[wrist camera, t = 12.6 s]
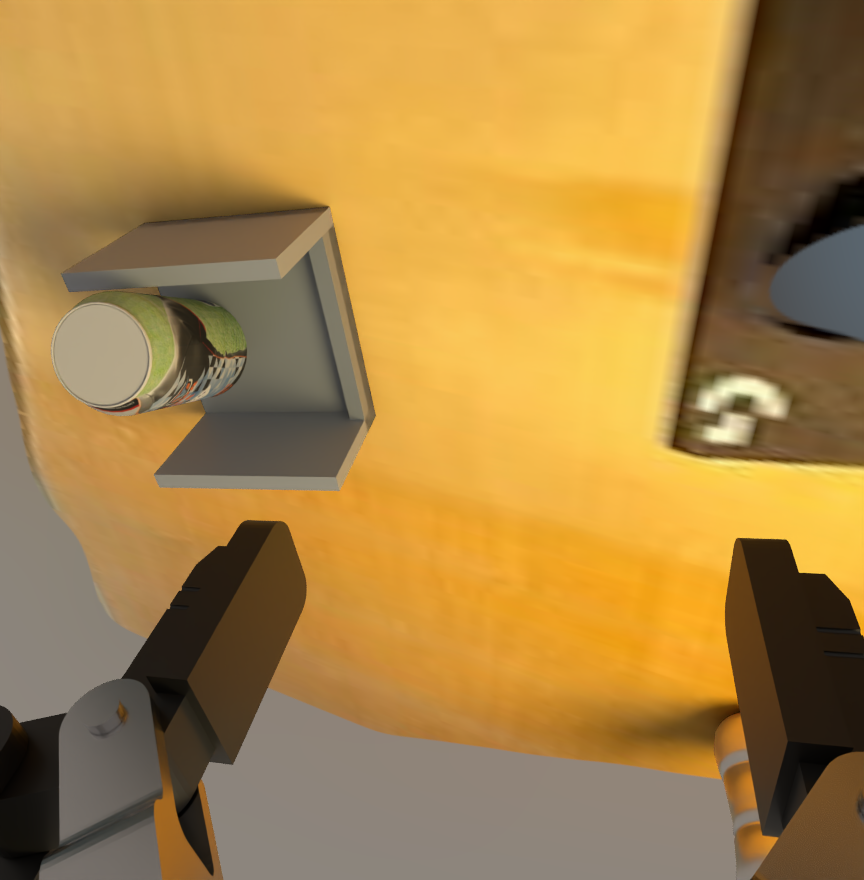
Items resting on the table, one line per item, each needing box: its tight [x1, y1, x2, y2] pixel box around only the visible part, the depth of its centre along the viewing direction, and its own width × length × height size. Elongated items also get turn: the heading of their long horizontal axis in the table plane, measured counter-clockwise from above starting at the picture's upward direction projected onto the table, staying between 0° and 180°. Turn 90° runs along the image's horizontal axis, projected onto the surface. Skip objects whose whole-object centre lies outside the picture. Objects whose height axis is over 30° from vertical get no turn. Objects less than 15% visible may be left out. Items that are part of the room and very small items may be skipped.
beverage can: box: [51, 291, 247, 416], centre depth 37 cm, size 6×7×12 cm
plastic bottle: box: [714, 713, 778, 880], centre depth 49 cm, size 6×7×20 cm
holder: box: [61, 207, 376, 491], centre depth 41 cm, size 14×12×8 cm
